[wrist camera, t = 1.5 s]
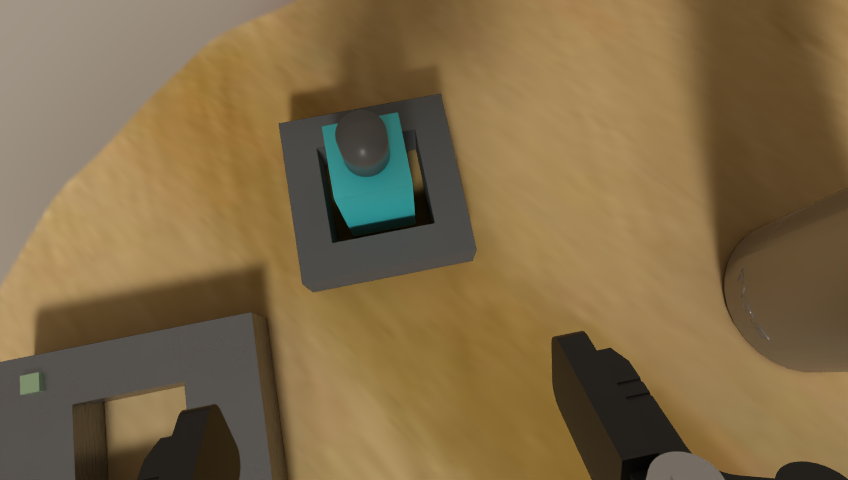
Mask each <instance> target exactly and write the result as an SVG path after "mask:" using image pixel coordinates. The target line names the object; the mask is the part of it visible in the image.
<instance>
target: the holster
mask: <svg viewBox="0 0 848 480" xmlns="http://www.w3.org/2000/svg"><path fill="white" fill-rule="evenodd" d="M356 110H367V111H371V112H373V113H375V114H377V115H378V116H381V115H386V114H392V113H397V112H398V115H399V120H400V125H401V129H402V134H403V139H404V144H405V149H406V151H409V150H414V149H416V152H417V156H418V161H419V166H420V170H421V175H422V180H423V185H424V189H425V194H426V199H427V204H428V208H429V213H430V218H431V222H432V224H429V225H423V226H418V227H413V228H408V229H403V230H398V231H393V232H387V233H382V234H377V235H372V236H367V237H362V238H357V239H351V240H346V241H341V242H338V239H337V233H336V227H335V221H334V215H333V209H332V203H331V197H330V191H329V185H328V179H327V173H326V167H325V166H328V161H327V155H326V149H325V143H324V137H323V131H322V126H327V125H332V124H338V123H339V121H340V120H341V119H342V118H343V117H344V116H345V115H347V114H348V113H350V112H353V111H356ZM279 129H280V136H281V143H282V150H283V156H284V163H285V170H286V177H287V183H288V190H289V197H290V204H291V210H292V217H293V224H294V231H295V237H296V244H297V251H298V258H299V264H300V271H301V278H302V284H303V285H304V286H306V287H307V288H308V289H309V290H311V291H312V292H317V291H322V290H327V289H332V288H337V287H342V286H347V285H352V284H357V283H362V282H367V281H373V280H378V279H383V278H388V277H393V276H398V275H403V274H408V273H413V272H418V271H423V270H428V269H433V268H438V267H443V266H448V265H453V264H458V263H463V262H468V261H473V258H474V255H475V253H476V250H477V249H476V245H475V240H474V236H473V232H472V227H471V223H470V219H469V214H468V210H467V206H466V201H465V197H464V193H463V188H462V184H461V179H460V175H459V171H458V166H457V162H456V158H455V153H454V149H453V145H452V140H451V136H450V131H449V127H448V123H447V118H446V114H445V110H444V105H443V101H442V97H441V94H436V95H430V96H425V97H419V98H414V99H409V100H403V101H398V102H392V103H387V104H381V105H376V106H371V107H365V108H360V109H354V110H349V111H344V112H338V113H333V114H327V115H322V116H316V117H311V118H306V119H300V120H295V121H289V122H284V123H279Z"/></svg>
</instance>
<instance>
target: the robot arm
mask: <svg viewBox="0 0 848 480" xmlns="http://www.w3.org/2000/svg"><path fill="white" fill-rule="evenodd" d="M724 291H725V298H726V302H727V307H728V310H729V312H730V315H731V317H732V319H733V321H734V324H735V326H736V327H737V328H738V330H739V331H740V333H741V334H742V336H743V337H744V338H745V340H746V341H747V342H748V343H749V344H750V345H751V346H752V347H754V348H755V349H756V350H757V351H758V352H759V353H760V354H762V355H763V356H765V357H766V358H768V359H769V360H771V361H772V362H775V363H777V364H779V365H782V366H784V367H786V368H789V369H793V370H798V371H803V372H848V188H845V189H843V190H841V191H839V192H837V193H835V194H832V195H830V196H828V197H826V198H824V199H821V200H819V201H817V202H815V203H813V204H811V205H808V206H806V207H804V208H801V209H799V210H797V211H795V212H793V213H790V214H788V215H786V216H784V217H782V218H780V219H778V220H775V221H773V222H771V223H769V224H767V225H765V226H762V227H760V228H758V229H756V230H754V231H753V232H751V233H750V234H749V235H747V236H746V237H745V238H743V239H742V241H741V242H740V243H739V244H738V245H737V247H736V248H735V249H734V251H733V253H732V255H731V257H730V259H729V261H728V263H727V268H726V272H725V277H724ZM552 383H553V390H554V395H555V398H556V402H557V405H558V407H559V410H560V412H561V414H562V416H563V418H564V420H565V423H566V425H567V427H568V429H569V431H570V433H571V436H572V438H573V440H574V442H575V444H576V446H577V449H578V451H579V453H580V455H581V457H582V459H583V462H584V464H585V466H586V468H587V470H588V472H589V475H590V477H591V479H592V480H848V479H847V478H846V477H844V476H843V475H841V474H840V473H838V472H836V471H834V470H833V469H831V468H828V467H826V466H823V465H820V464H817V463H812V462H802V461H801V462H793V463H789V464H786V465H784V466H783V467H782V468H780V469H779V471H778V472H777V474H776V477H775V479H774V478H762V477H751V476H739V475H732V474H728V473H724V472H721V471H718V470H717V468H715V467H714V466H713V465H712V464H711V463H709V462H708V461H706V460H705V459H703V458H701V457H699V456H696V455H694V454H692V453H691V452H690V451H689V449H688V448H687V447H686V445H685V444H684V442H683V441H682V439H681V438H680V436H679V435H678V434H677V432H676V431H675V429H674V428H673V426H672V425H671V423H670V422H669V420H668V419H667V417H666V416H665V414H664V413H663V411H662V410H661V408H660V407H659V405H658V404H657V402H656V401H655V399H654V398H653V396H651V395H650V392H649V390H648V389H647V387H646V386H645V384H644V383H643V382H641V380H640V377H639V375H638V374H637V372H636V371H635V369H634V368H633V366H632V365H631V363H630V362H629V361H628V360H627V359H625V358H624V357H622V356H621V355H620V354H618V353H617V352H615V351H614V350H613V349H611V348H608V349H603V350H598V351H597V350H596V349H595V347H594V345H593V344H592V342H591V340H590V339H589V337H588V336H587V334H586V333H585V332H584V331H580V332H575V333H570V334H565V335H560V336H555V337H553V338H552ZM240 469H241V464H240V455H239V450H238V447H237V444H236V442H235V440H234V438H233V436H232V434H231V431H230V429H229V427H228V425H227V423H226V421H225V418H224V416H223V414H222V412H221V410H220V408H219V407H218V405H216V404H212V405H207V406H202V407H197V408H192V409H187V410H183V411H181V412H180V414H179V416H178V419H177V422H176V425H175V429H174V432H173V435H172V436H170V437H165V438H160V440H159V441H158V442H157V444H156V445H155V446H154V448H153V449H152V450H151V452H150V453H149V454H148V455H147V457H146V458H145V459H144V462H143V465H142V468H141V471H140V474H139V477H138V479H137V480H239V478H240Z"/></svg>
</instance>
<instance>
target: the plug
mask: <svg viewBox="0 0 848 480" xmlns="http://www.w3.org/2000/svg"><path fill="white" fill-rule="evenodd" d="M322 131H323V137H324V143H325V149H326V155H327V161H328V167H329V173H330V179H331V185H332V190H333V196H334V200H335V202H336V204H337V206H338V208H339V210H340V212H341V214H342V216H343V217H344V219H345V221H346V223H347V225H348V227H349V229H350V231H351V233H352V235H353V237H354V236H359V235H364V234H369V233H374V232H380V231H385V230H390V229H395V228H400V227H405V226H410V225H416V221H415V208H414V194H413V183H412V178H411V173H410V168H409V163H408V158H407V154H406V149H405V144H404V139H403V134H402V129H401V125H400V120H399V115H398V112H397V113H392V114H386V115H381V116H378V115H377V114H375V113H373V112H371V111H367V110H356V111H353V112H350V113H348V114H347V115H345V116H344V117H343V118H342V119H341V120H340V121H339V123H338V124H332V125H327V126H322Z"/></svg>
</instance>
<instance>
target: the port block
mask: <svg viewBox="0 0 848 480" xmlns="http://www.w3.org/2000/svg"><path fill="white" fill-rule="evenodd" d="M181 386H185V395H186V406H187V409H192V408H197V407H202V406H207V405H212V404H216V405H218V407H219V408H220V410H221V412H222V414H223V416H224V418H225V421H226V423H227V425H228V427H229V429H230V431H231V434H232V436H233V438H234V440H235V442H236V444H237V447H238V450H239V455H240V464H241V469H240V478H239V480H288V478H287V471H286V463H285V455H284V448H283V440H282V432H281V425H280V417H279V409H278V402H277V394H276V386H275V379H274V371H273V363H272V355H271V348H270V340H269V332H268V325H267V318H265V317H263V316H260V315H258V314H255V313H252V312H250V313H245V314H240V315H235V316H230V317H225V318H219V319H214V320H209V321H204V322H199V323H194V324H189V325H184V326H179V327H174V328H169V329H164V330H159V331H154V332H149V333H144V334H139V335H134V336H129V337H124V338H119V339H114V340H109V341H104V342H99V343H94V344H89V345H83V346H78V347H73V348H68V349H63V350H58V351H53V352H48V353H43V354H38V355H33V356H28V357H23V358H18V359H13V360H8V361H3V362H0V480H108V468H107V450H106V433H105V415H104V402H107V401H112V400H117V399H122V398H127V397H132V396H137V395H142V394H146V393H151V392H156V391H161V390H166V389H171V388H176V387H181Z"/></svg>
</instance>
